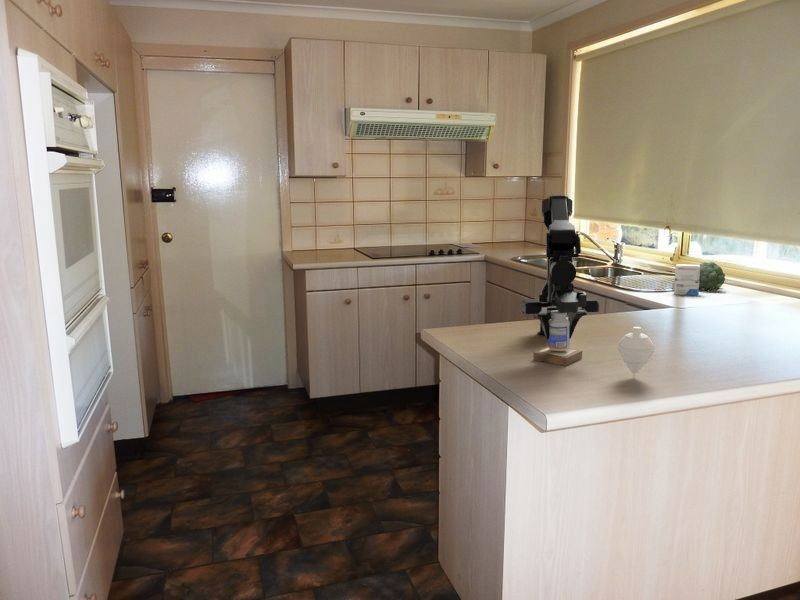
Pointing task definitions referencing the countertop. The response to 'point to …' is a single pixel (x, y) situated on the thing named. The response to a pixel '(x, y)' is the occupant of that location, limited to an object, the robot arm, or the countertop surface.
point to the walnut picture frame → (558, 356)
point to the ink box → (687, 279)
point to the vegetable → (710, 276)
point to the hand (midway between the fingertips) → (558, 338)
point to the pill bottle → (559, 331)
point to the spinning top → (635, 350)
